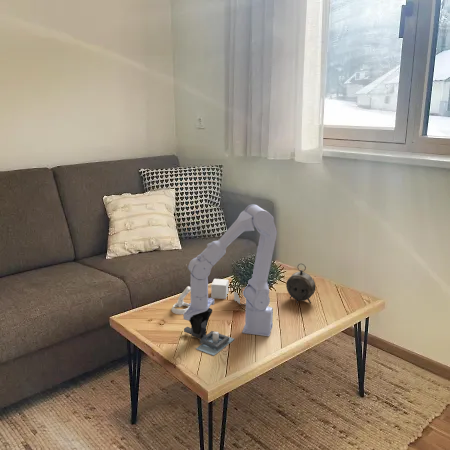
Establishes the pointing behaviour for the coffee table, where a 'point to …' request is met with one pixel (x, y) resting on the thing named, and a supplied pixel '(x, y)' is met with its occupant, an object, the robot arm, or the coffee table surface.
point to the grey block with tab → (207, 336)
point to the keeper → (215, 340)
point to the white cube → (219, 288)
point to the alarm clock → (301, 286)
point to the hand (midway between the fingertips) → (199, 331)
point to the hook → (181, 302)
